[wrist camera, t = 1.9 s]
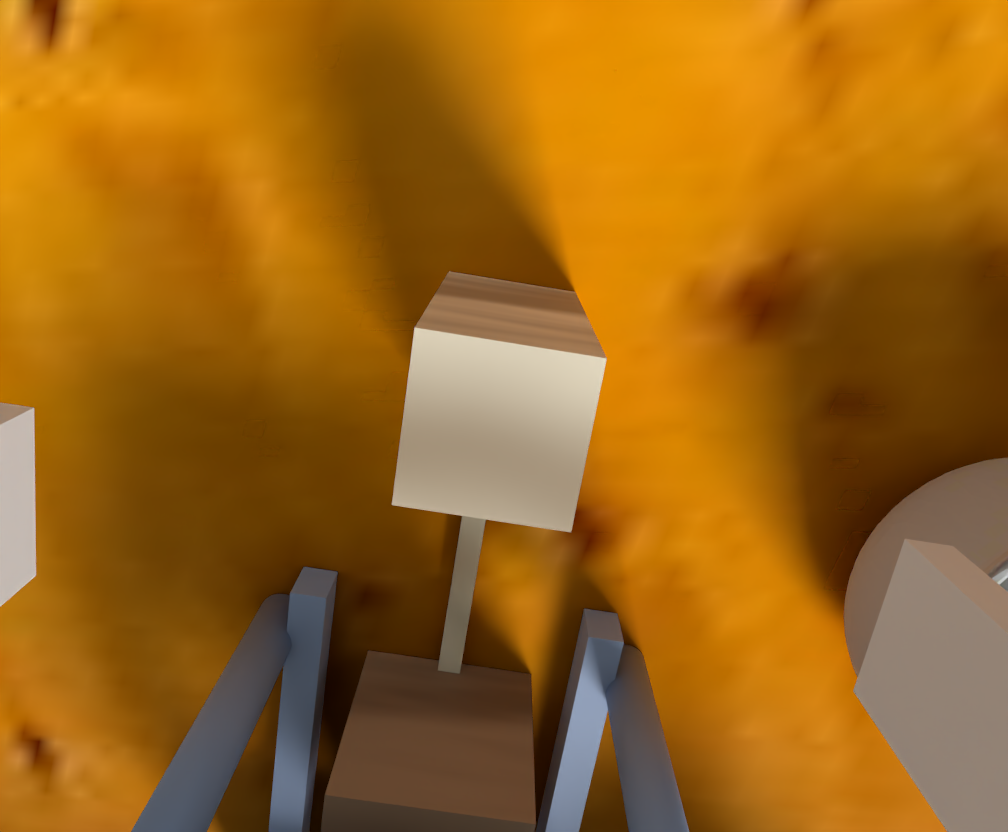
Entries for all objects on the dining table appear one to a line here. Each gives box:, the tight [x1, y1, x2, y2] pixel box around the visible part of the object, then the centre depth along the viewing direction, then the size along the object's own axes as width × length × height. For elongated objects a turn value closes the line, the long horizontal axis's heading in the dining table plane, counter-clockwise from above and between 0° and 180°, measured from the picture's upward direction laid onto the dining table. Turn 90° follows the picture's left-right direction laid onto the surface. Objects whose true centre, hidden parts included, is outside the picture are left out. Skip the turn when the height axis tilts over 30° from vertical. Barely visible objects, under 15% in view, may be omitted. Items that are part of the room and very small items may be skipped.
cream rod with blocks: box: [321, 271, 607, 832], centre depth 24 cm, size 20×6×9 cm, turn 171°
